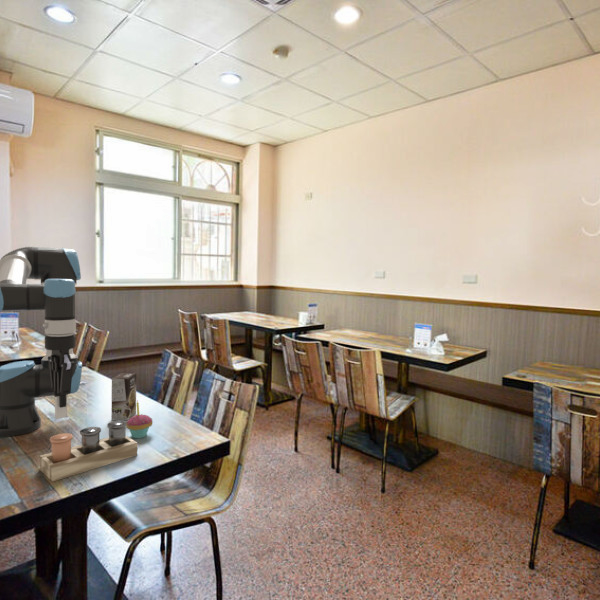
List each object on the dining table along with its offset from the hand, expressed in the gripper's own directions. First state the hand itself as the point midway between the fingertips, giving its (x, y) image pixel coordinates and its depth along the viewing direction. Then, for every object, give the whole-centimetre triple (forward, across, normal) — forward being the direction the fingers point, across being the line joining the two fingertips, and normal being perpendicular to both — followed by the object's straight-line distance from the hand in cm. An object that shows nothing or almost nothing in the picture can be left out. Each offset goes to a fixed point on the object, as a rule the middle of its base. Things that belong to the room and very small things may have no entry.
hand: (61, 417), depth 120 cm
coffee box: (+16, -31, +33) cm, 48 cm away
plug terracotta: (+12, 0, 0) cm, 12 cm away
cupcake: (+16, -9, +28) cm, 33 cm away
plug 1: (+12, 0, +8) cm, 15 cm away
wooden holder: (+16, 0, +8) cm, 18 cm away
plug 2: (+12, 0, +16) cm, 20 cm away
